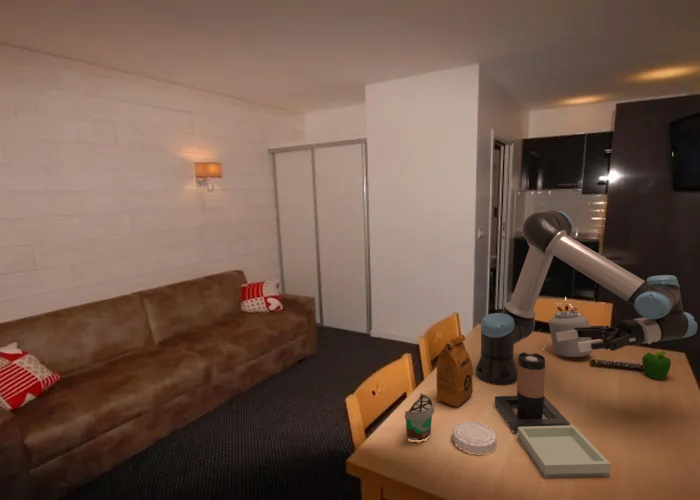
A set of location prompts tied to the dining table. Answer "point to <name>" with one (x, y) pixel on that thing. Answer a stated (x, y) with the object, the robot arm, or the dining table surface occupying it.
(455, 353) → the coffee package
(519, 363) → the travel mug
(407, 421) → the food container
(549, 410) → the holder frame
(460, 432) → the mooncake
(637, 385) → the dining table surface
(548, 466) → the tray
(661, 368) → the bell pepper
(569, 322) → the jar
